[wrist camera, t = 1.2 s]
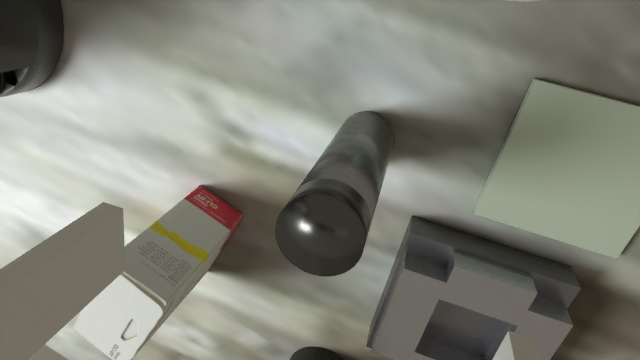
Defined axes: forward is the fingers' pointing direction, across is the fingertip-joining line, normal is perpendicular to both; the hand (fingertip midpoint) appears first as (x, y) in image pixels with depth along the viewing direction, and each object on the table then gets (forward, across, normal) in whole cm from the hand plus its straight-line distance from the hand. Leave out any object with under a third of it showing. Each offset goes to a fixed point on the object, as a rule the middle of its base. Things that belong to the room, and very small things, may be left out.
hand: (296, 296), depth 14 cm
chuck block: (+18, +11, -12) cm, 24 cm away
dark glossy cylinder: (+19, 0, -1) cm, 19 cm away
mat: (+18, +14, +1) cm, 23 cm away
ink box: (+19, -12, -14) cm, 26 cm away
